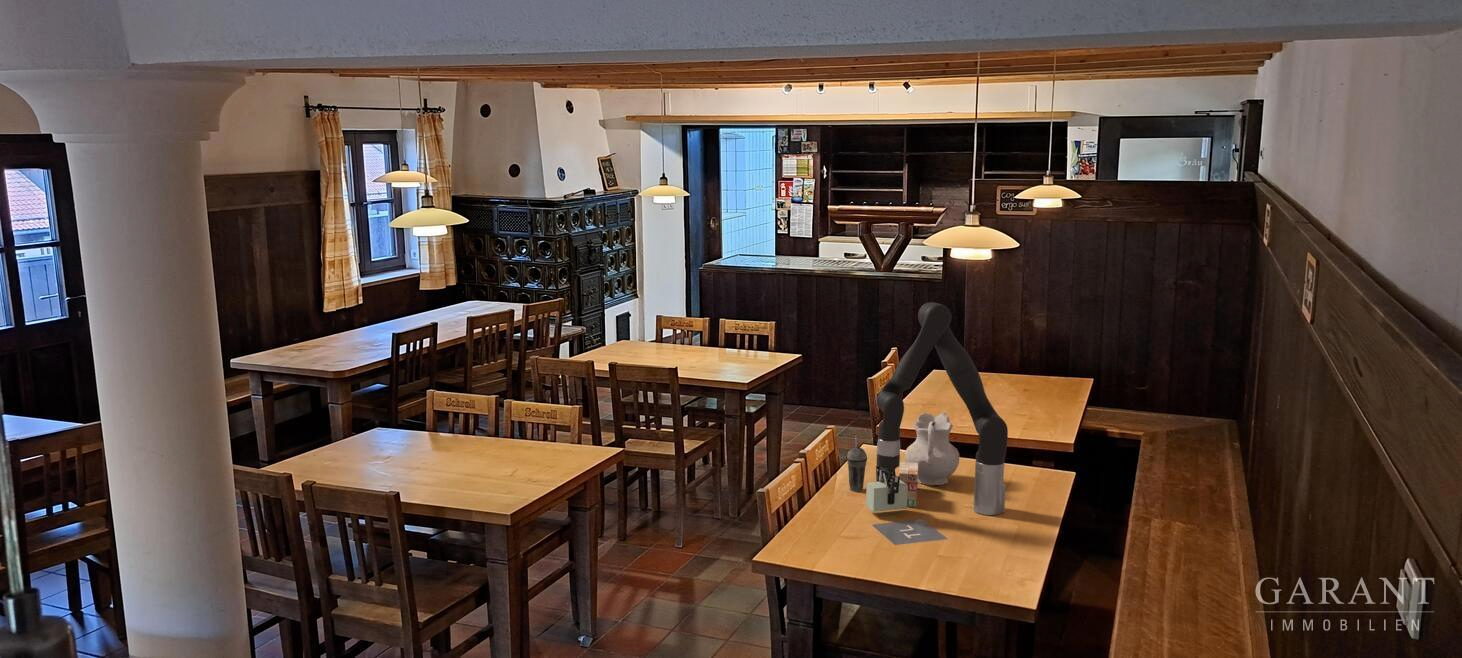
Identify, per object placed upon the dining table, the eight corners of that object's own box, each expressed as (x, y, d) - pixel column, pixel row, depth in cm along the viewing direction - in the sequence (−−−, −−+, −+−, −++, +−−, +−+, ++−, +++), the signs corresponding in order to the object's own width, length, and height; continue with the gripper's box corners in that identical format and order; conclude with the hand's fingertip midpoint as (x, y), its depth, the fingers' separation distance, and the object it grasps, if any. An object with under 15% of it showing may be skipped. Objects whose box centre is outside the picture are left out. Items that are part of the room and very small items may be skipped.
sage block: (866, 505, 348) (866, 482, 347) (899, 502, 351) (900, 479, 350) (873, 511, 343) (874, 488, 341) (906, 508, 346) (907, 485, 344)
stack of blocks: (899, 487, 375) (900, 454, 373) (917, 488, 374) (918, 455, 372) (898, 507, 355) (899, 472, 352) (916, 508, 353) (918, 473, 351)
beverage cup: (869, 488, 373) (871, 434, 370) (861, 494, 367) (862, 439, 363) (851, 485, 377) (852, 431, 373) (842, 490, 371) (843, 436, 367)
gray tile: (922, 520, 342) (922, 519, 342) (948, 539, 325) (948, 538, 325) (871, 525, 337) (871, 524, 337) (894, 545, 320) (894, 544, 320)
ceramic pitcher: (962, 494, 370) (970, 426, 366) (907, 490, 370) (915, 422, 366) (950, 475, 392) (958, 411, 387) (898, 471, 392) (906, 406, 387)
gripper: (869, 446, 349) (867, 494, 352) (886, 459, 336) (885, 509, 339) (889, 445, 351) (888, 492, 354) (908, 457, 338) (906, 507, 341)
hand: (886, 500), depth 347 cm, fingers closed on sage block, 6 cm apart
